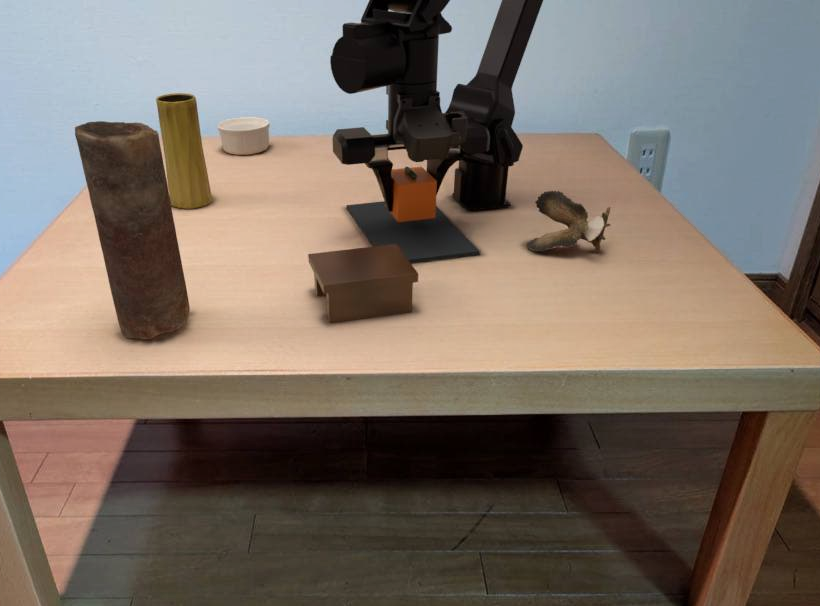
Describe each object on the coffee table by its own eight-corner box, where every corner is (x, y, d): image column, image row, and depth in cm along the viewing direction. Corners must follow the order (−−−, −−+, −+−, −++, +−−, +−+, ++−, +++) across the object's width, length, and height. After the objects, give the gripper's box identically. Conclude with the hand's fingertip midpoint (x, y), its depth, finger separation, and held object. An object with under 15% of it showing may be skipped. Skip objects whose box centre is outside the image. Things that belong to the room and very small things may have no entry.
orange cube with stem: (420, 202, 98) (421, 161, 95) (435, 218, 93) (437, 175, 90) (384, 206, 97) (384, 164, 94) (397, 222, 92) (398, 179, 89)
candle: (127, 308, 79) (83, 115, 68) (195, 305, 80) (164, 113, 68) (113, 344, 73) (63, 138, 61) (187, 340, 73) (151, 135, 62)
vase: (203, 210, 103) (188, 103, 95) (162, 207, 104) (144, 102, 96) (218, 195, 108) (205, 93, 99) (180, 193, 109) (163, 91, 101)
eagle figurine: (600, 226, 94) (531, 209, 94) (620, 191, 87) (546, 173, 87) (590, 276, 91) (519, 258, 92) (610, 244, 84) (533, 225, 85)
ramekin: (211, 154, 125) (208, 128, 122) (233, 140, 132) (230, 114, 129) (259, 158, 122) (256, 131, 120) (279, 143, 129) (277, 118, 127)
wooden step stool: (395, 280, 84) (396, 243, 81) (417, 312, 78) (418, 273, 75) (310, 291, 82) (308, 253, 79) (325, 324, 76) (323, 285, 73)
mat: (427, 200, 105) (427, 196, 105) (479, 254, 90) (480, 250, 89) (346, 208, 103) (346, 205, 103) (385, 266, 87) (385, 262, 87)
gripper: (351, 101, 77) (354, 240, 86) (514, 88, 81) (501, 223, 90) (329, 79, 86) (334, 207, 95) (477, 69, 90) (468, 193, 99)
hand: (409, 208), depth 95 cm, fingers closed on orange cube with stem, 5 cm apart
